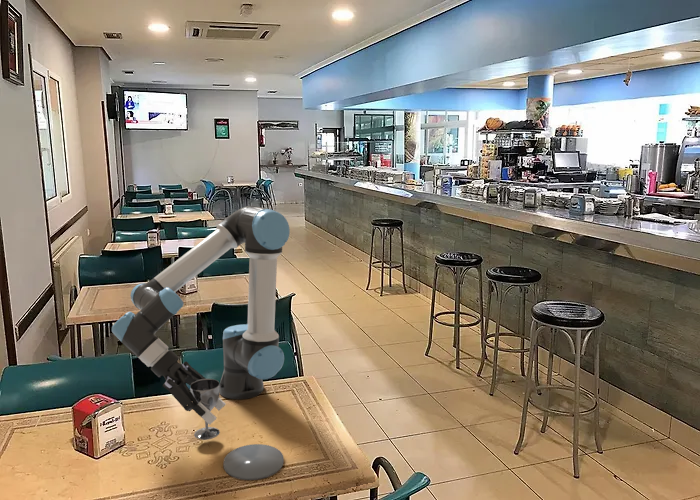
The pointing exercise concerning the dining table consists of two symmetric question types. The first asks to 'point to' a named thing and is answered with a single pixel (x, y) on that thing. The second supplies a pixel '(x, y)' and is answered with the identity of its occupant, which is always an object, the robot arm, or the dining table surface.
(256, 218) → the robot arm
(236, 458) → the plate
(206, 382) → the wine glass
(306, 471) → the dining table surface
